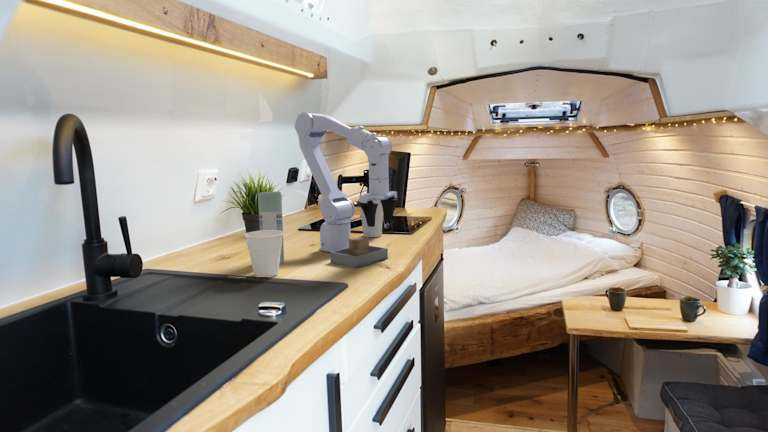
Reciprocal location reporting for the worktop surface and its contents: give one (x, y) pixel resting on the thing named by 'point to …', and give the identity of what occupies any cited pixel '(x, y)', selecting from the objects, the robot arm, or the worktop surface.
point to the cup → (265, 251)
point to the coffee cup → (377, 229)
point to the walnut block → (358, 246)
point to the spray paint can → (271, 214)
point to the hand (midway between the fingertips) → (379, 224)
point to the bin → (359, 257)
